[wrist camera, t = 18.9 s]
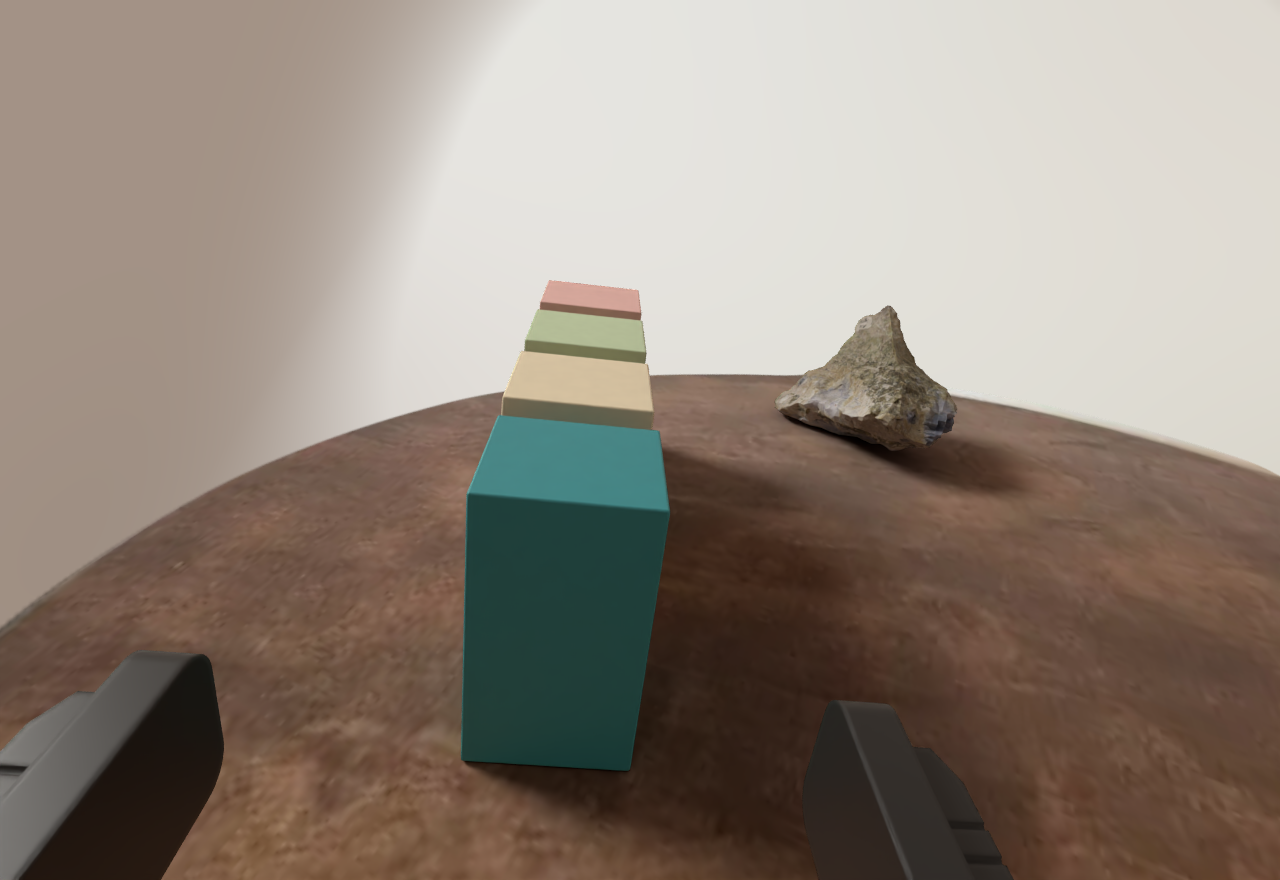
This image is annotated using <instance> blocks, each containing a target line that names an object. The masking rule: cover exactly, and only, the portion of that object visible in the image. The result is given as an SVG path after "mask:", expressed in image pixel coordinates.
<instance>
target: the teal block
mask: <svg viewBox="0 0 1280 880" xmlns="http://www.w3.org/2000/svg"><path fill="white" fill-rule="evenodd" d="M669 517H670V507H669V499H668V492H667V484H666V476H665V469H664V461H663V453H662V446H661V438H660V432H659V431H656V430H646V429H635V428H625V427H615V426H605V425H594V424H584V423H574V422H564V421H553V420H543V419H533V418H523V417H513V416H502V415H499V416H498V417H497V419H496V422H495V424H494V427H493V429H492V432H491V434H490V437H489V439H488V442H487V444H486V447H485V449H484V452H483V454H482V457H481V459H480V462H479V464H478V467H477V469H476V472H475V474H474V477H473V479H472V482H471V484H470V487H469V489H468V492H467V500H466V546H465V593H464V639H463V686H462V732H461V759H462V760H463V761H475V762H491V763H508V764H524V765H540V766H556V767H572V768H588V769H604V770H620V771H629V770H630V767H631V760H632V754H633V748H634V741H635V735H636V728H637V722H638V716H639V709H640V703H641V696H642V690H643V684H644V677H645V671H646V664H647V658H648V651H649V645H650V639H651V632H652V626H653V619H654V613H655V607H656V600H657V594H658V587H659V581H660V575H661V568H662V562H663V555H664V549H665V542H666V536H667V530H668V523H669Z"/></svg>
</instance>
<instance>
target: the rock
mask: <svg viewBox="0 0 1280 880" xmlns="http://www.w3.org/2000/svg"><path fill="white" fill-rule="evenodd" d="M775 405H776V406H775V408H777V409H778V410H779V411H780V412H781V413H783V414H784V415H787V416H790V417H793V418H795V419H798V420H800V421H802V422H804V423H806V424H809V425H811V426H815V427H821V428H823V429H825V430H827V431H830V432H833V433H836V434H838V435H846V436H853V437H859V438H860V439H862V440H864V441H867V442H869V443H870V444H882V445H884V446H885V447H887V448H888V449H889V450H892V451H896V450H902V449H905V448H907V447H912V448H915V447H918V448H929V447H930V446H931V445H932V444H933V443H935V441H936V440H937V439H938V438H941V435H942V434H943V433H947V432H949V431H952V426H953V424H954V420H953V417H955V416H954V415H955V414H957V412H956V410H957V407H956V405H955V403H954V402H953V400H952V399H951V396H950V394H949V393H948V392H947V389H946V388H944V387H943V386H941V385H940V384H938V383H937V382H934V381H933V380H932V379H931V378H930V377H928V376H927V375H926V374H925V373H924V371H923V370H922V369H920V368H919V367H918V366H916V363H915V360H914V357H913V356H912V354H911V353H910V351H909V349H908V348H907V346H906V343H905V341H904V338H903V333H902V331H901V329H900V320H899V319H898V318H897V313H896V312H895V310H894V309H893V308H892V307H891V306H886V307H885V308H883V309H882V310H881V312H879V313H877V314H876V315H869V316H865V317H863V318H862V319H860V320H859V322H858V323H857V325H856V327H855V333H854V335H853V336H852V337H851V338H850V339H848V340H847V342H845V343H844V345H843V346H842V347H841V349H840V351H839V352H838V354H837V355H835V356H834V357H832V359H831V360H830V361H829V362H828V363H827V364H826V365H825V366H824V367H821V368H818V369H815V370H812V371H808V372H806V373H805V374H804V375H803V376H802V377H801V379H800V380H799V381H798V382H797V383H796V384H795V385H794V386H793V387H792V388H791V389H790V390H787V391H785V392H783V393H782V394H781V395H780V396H779V397H778V398H776V399H775Z"/></svg>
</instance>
